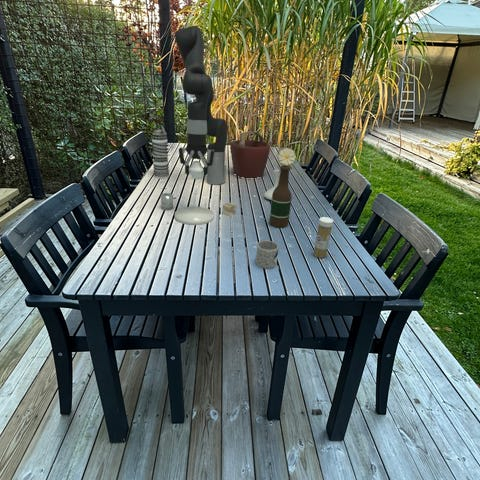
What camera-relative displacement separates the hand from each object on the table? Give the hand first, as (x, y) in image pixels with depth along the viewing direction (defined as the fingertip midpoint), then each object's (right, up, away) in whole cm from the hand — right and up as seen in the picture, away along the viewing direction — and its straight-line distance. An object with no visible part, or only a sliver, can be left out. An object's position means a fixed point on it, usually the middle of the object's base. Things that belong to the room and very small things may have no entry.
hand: (196, 175), depth 135 cm
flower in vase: (+36, -6, +30) cm, 47 cm away
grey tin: (-14, -12, +11) cm, 22 cm away
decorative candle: (-26, +9, +53) cm, 60 cm away
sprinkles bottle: (+45, -31, -20) cm, 58 cm away
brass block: (+13, -15, +10) cm, 22 cm away
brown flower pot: (+22, +12, +65) cm, 70 cm away
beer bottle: (+33, -20, +2) cm, 39 cm away
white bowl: (-1, -17, +4) cm, 17 cm away
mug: (+26, -33, -25) cm, 49 cm away
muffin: (0, -1, +1) cm, 1 cm away
